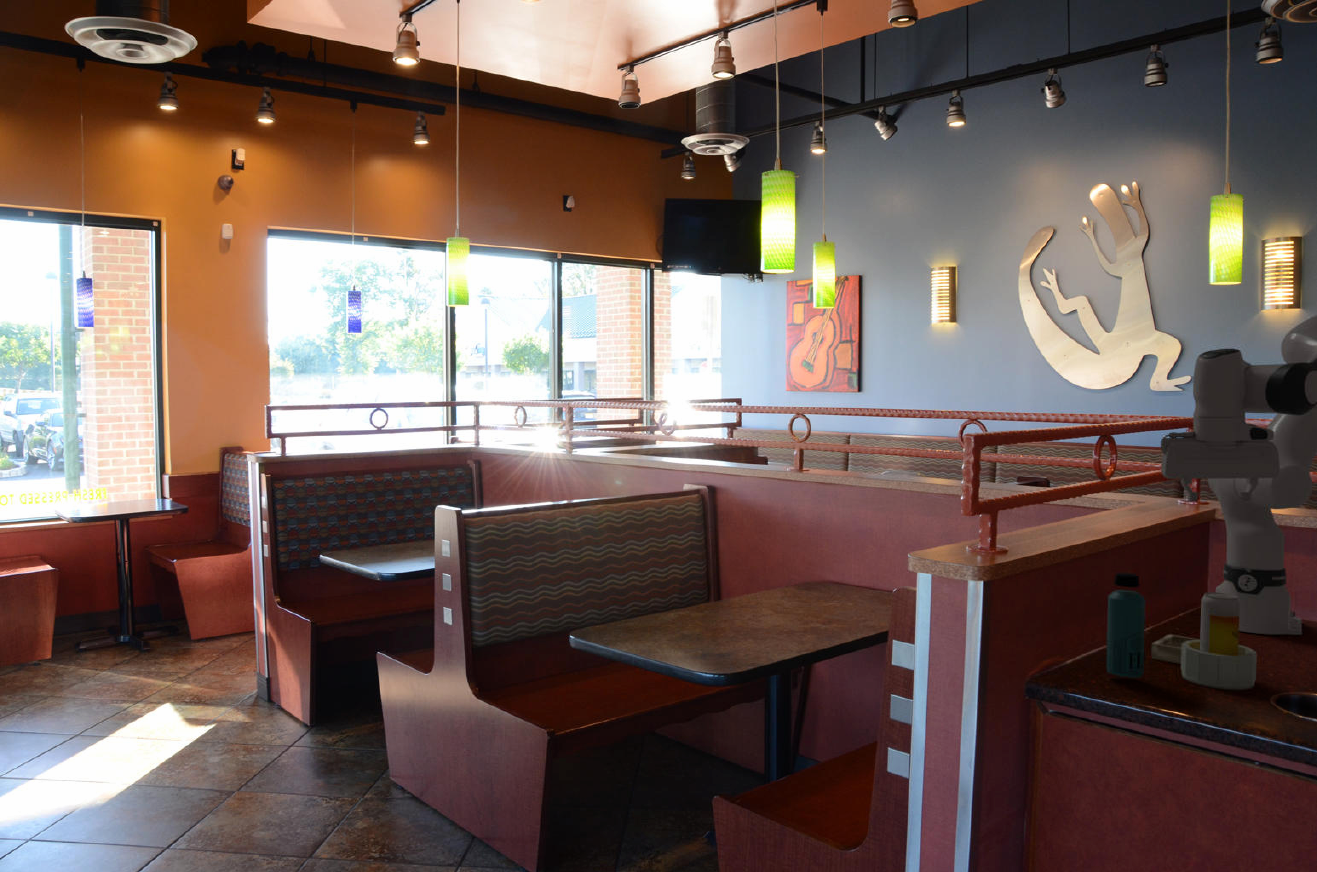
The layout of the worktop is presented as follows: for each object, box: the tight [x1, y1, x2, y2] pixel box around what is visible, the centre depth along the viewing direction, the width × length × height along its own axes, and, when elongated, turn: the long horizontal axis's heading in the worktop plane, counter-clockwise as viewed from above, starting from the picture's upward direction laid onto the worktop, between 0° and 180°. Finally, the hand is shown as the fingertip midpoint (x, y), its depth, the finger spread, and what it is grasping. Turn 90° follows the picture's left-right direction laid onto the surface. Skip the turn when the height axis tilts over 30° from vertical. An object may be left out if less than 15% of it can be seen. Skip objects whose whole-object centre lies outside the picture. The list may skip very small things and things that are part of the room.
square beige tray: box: [1150, 633, 1200, 665], centre depth 187 cm, size 11×11×4 cm
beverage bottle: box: [1105, 572, 1146, 678], centre depth 172 cm, size 6×7×20 cm
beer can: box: [1199, 591, 1240, 656], centre depth 173 cm, size 6×6×15 cm
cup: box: [1180, 640, 1258, 691], centre depth 173 cm, size 12×12×6 cm
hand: (1219, 501), depth 184 cm, fingers open, 8 cm apart
